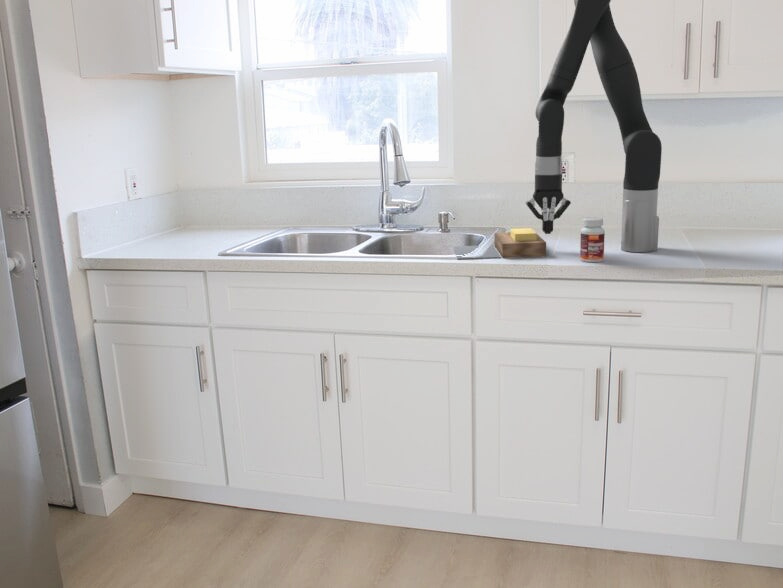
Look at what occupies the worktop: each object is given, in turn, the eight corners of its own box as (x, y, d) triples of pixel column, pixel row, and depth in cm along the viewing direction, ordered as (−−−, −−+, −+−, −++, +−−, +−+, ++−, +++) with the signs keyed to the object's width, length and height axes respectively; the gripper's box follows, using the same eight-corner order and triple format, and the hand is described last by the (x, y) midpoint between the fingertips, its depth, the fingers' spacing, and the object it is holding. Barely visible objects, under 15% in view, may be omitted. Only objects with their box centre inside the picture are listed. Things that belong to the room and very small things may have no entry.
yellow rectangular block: (531, 234, 219) (531, 228, 218) (536, 240, 210) (536, 233, 209) (510, 235, 219) (510, 228, 218) (515, 241, 210) (515, 234, 210)
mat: (492, 246, 225) (492, 245, 225) (500, 257, 208) (500, 256, 208) (453, 247, 225) (453, 246, 225) (457, 259, 208) (457, 258, 208)
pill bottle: (588, 263, 197) (590, 221, 194) (575, 259, 202) (576, 218, 200) (608, 261, 199) (609, 219, 196) (594, 257, 204) (595, 216, 202)
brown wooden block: (534, 244, 225) (534, 231, 224) (545, 256, 208) (546, 242, 207) (494, 245, 225) (494, 232, 224) (502, 257, 208) (502, 243, 207)
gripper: (569, 170, 213) (567, 230, 218) (522, 172, 213) (522, 232, 218) (575, 172, 206) (573, 234, 210) (527, 174, 206) (526, 236, 211)
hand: (547, 233), depth 214 cm, fingers closed
